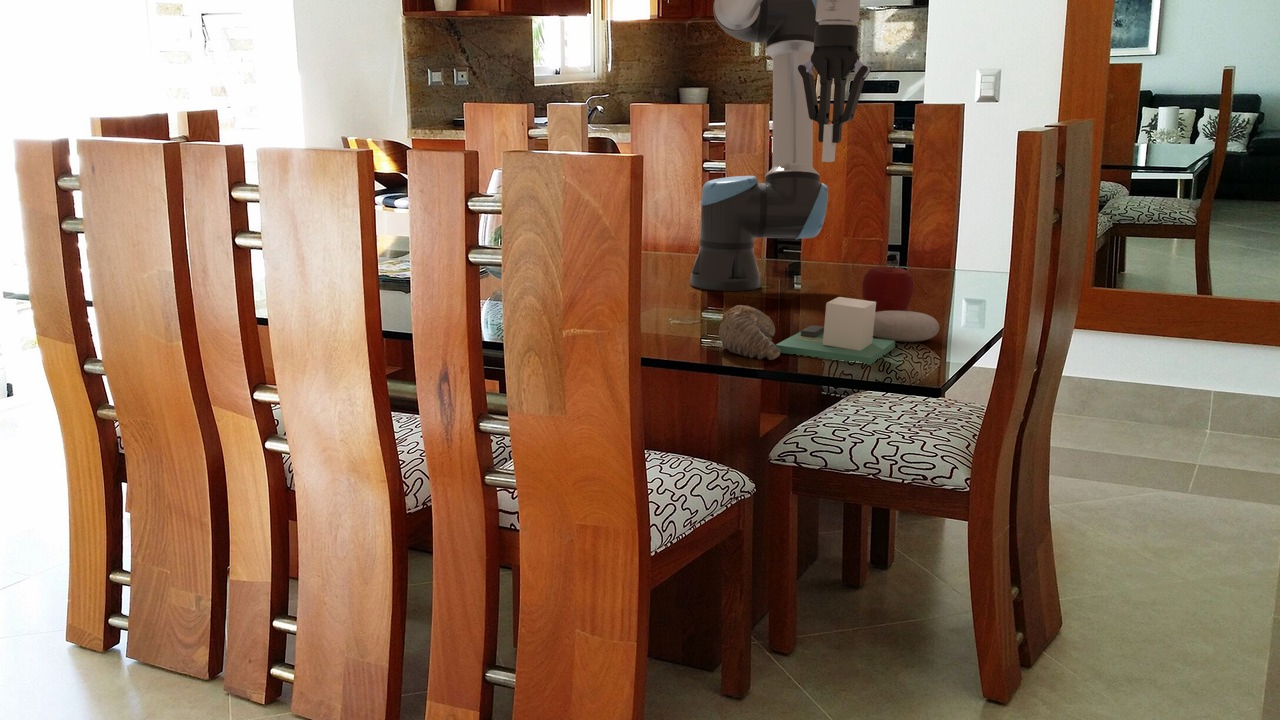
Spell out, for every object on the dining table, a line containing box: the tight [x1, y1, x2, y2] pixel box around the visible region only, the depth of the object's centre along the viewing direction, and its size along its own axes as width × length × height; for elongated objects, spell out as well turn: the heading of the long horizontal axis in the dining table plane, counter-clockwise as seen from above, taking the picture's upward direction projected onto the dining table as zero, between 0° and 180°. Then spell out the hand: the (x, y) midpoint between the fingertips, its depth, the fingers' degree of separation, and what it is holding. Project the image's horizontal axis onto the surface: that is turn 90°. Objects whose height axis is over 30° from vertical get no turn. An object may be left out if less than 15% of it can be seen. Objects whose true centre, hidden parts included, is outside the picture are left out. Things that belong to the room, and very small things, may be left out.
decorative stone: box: [873, 310, 940, 343], centre depth 192 cm, size 13×9×5 cm
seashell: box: [718, 304, 781, 361], centre depth 182 cm, size 14×10×10 cm
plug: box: [823, 296, 876, 351], centre depth 182 cm, size 6×7×7 cm
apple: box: [861, 265, 915, 312], centre depth 209 cm, size 10×10×10 cm
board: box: [775, 324, 896, 366], centre depth 183 cm, size 16×14×4 cm
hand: (828, 161), depth 198 cm, fingers closed
